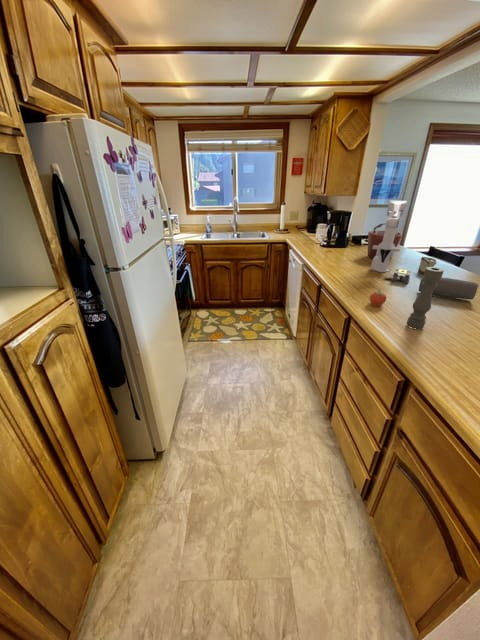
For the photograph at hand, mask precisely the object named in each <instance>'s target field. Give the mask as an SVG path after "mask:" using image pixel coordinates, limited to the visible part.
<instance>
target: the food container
mask: <svg viewBox="0 0 480 640" xmlns="http://www.w3.org/2000/svg"><path fill="white" fill-rule="evenodd" d="M436 265H437V260H436V259H435V258H432V257H428V256H427V257H426V256H421V259H420V263H419V266H418V271H417V273H418V274H419V275H420V274H421V275H420V276H421V277H423V275H424V273H425V270H426V268H427V267H435V266H436Z"/></svg>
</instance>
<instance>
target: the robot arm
mask: <svg viewBox="0 0 480 640" xmlns="http://www.w3.org/2000/svg"><path fill="white" fill-rule="evenodd" d="M407 203H408V202H407V200H392V199H391V200H389V202H388V206H387V210H386V211H387V212H386V216H387V217H388V218H387V219H386V224H385V227H384V228H385V229H384V231H385V233H384V237H383V241H382V243H380V244H379V246H376V245H374V246H373V249H377V253H376V255H377V256H375V257H374V258H373V259H372V261H371V266H370V267H369V269H370V270H373V271H376V272H379V273H385V272H391V271H390V269H388V267H389V264H390V261H391V259H390V257H393V256H394V253H395V252H397V253H400V250H401V247H395V245H394V244H393V241H394V237H395V233H396V230H397V231H398V228H399V225H400V222H401V217H403V215H404V213H405V210H406V207H407Z"/></svg>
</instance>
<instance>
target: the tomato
mask: <svg viewBox="0 0 480 640" xmlns="http://www.w3.org/2000/svg"><path fill="white" fill-rule="evenodd" d="M386 301H387V295H386V294H385V293H384V292H383V291H381V289H378V290H377V291H373V292H372V293H371V294H370V295H369V302H370V303H371V305H372V306H373V305H375V306H374V307H377V306H379V307H381V306H382V305H384V304H385V302H386Z"/></svg>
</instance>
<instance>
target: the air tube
mask: <svg viewBox="0 0 480 640" xmlns="http://www.w3.org/2000/svg"><path fill="white" fill-rule="evenodd" d="M393 275H394V274H391V273H385V275H384V279H386V280H392V279H393ZM404 279H405V275H399V274H398V276H397V279H396V281H399V282H404ZM410 280H411V277H410V276H409V279H408V283H409V282H410Z"/></svg>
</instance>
